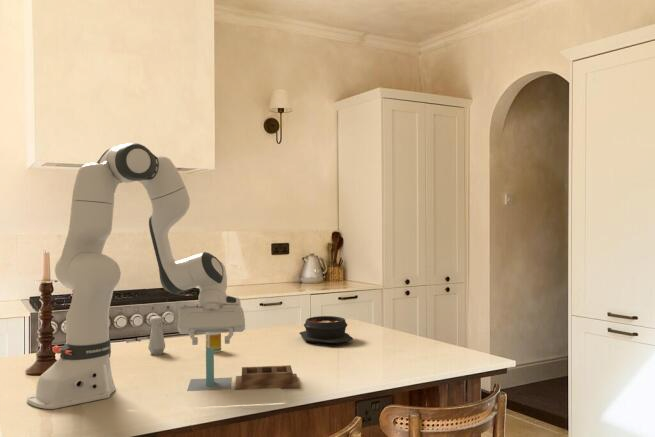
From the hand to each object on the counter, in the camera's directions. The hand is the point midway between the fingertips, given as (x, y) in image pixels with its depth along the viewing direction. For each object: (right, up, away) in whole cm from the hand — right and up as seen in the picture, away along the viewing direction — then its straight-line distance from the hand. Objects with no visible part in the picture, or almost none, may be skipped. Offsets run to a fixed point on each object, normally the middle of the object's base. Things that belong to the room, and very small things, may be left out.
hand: (211, 343), depth 181 cm
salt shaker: (-26, -11, +35) cm, 45 cm away
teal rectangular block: (+1, -11, -6) cm, 12 cm away
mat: (+1, -11, -6) cm, 12 cm away
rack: (+17, -11, -4) cm, 21 cm away
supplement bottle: (-6, -11, +37) cm, 39 cm away
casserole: (+34, -10, +54) cm, 64 cm away
